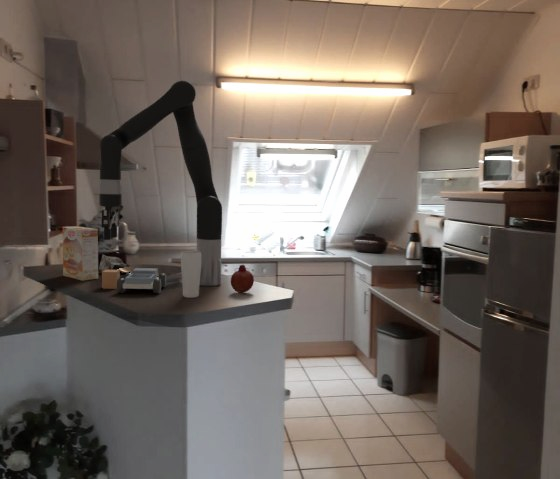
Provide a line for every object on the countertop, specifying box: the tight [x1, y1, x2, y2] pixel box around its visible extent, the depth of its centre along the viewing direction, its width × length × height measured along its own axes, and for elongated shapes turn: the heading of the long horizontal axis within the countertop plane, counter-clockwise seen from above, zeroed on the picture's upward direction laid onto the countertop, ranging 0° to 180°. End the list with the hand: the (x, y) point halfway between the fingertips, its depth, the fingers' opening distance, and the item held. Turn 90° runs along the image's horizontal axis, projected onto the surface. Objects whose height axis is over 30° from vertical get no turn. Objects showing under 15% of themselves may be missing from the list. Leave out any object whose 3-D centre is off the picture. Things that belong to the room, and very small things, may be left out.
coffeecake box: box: [61, 226, 99, 282], centre depth 208 cm, size 15×7×20 cm, turn 49°
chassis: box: [116, 267, 167, 294], centre depth 187 cm, size 14×16×6 cm
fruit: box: [230, 264, 255, 294], centre depth 186 cm, size 8×8×10 cm
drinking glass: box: [180, 250, 202, 299], centre depth 178 cm, size 7×7×15 cm
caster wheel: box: [98, 254, 131, 273], centre depth 222 cm, size 7×11×10 cm
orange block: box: [101, 270, 121, 290], centre depth 191 cm, size 5×5×6 cm
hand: (110, 238), depth 189 cm, fingers open, 8 cm apart
